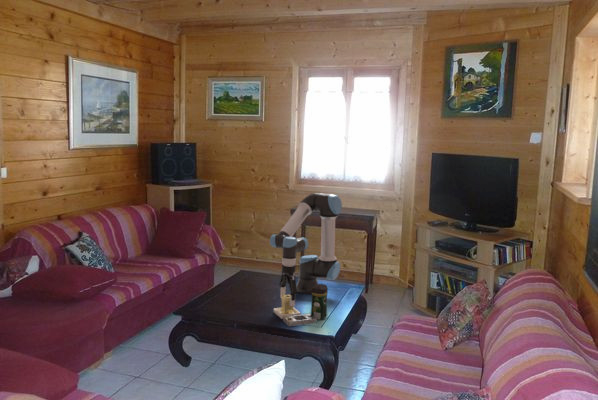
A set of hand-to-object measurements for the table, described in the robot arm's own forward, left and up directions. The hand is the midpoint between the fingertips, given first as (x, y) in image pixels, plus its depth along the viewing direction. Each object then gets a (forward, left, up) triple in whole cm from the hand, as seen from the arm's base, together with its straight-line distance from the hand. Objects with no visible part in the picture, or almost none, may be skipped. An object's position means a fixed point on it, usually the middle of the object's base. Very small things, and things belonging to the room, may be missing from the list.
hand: (287, 302), depth 289 cm
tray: (0, 0, -7) cm, 7 cm away
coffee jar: (-15, +10, -7) cm, 19 cm away
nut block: (0, 0, -7) cm, 7 cm away
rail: (-2, +13, -7) cm, 15 cm away
